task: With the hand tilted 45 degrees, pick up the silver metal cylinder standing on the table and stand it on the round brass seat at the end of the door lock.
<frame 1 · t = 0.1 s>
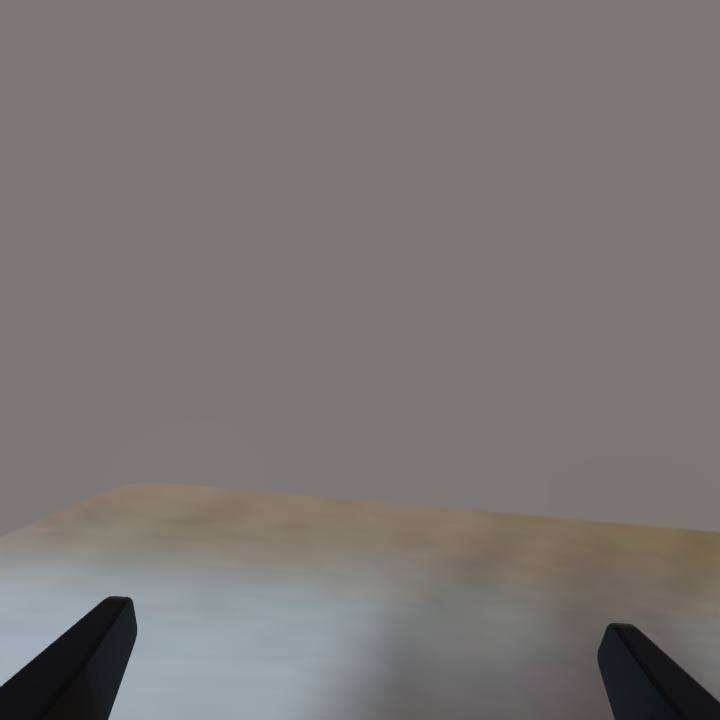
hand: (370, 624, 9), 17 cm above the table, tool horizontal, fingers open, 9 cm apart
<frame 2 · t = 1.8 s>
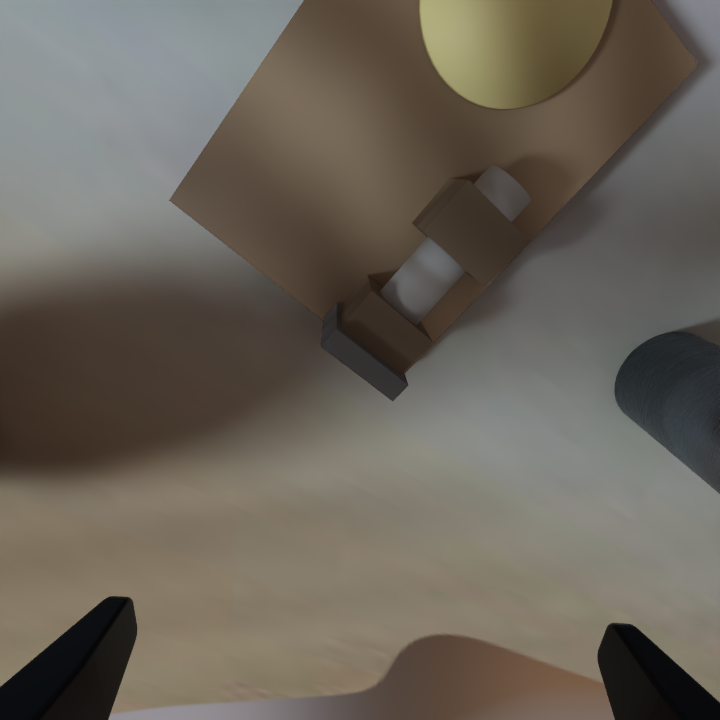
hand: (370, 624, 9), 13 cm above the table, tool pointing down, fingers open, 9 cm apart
door lock: (421, 136, 17), on the table
silver metal cylinder: (664, 379, 21), on the table
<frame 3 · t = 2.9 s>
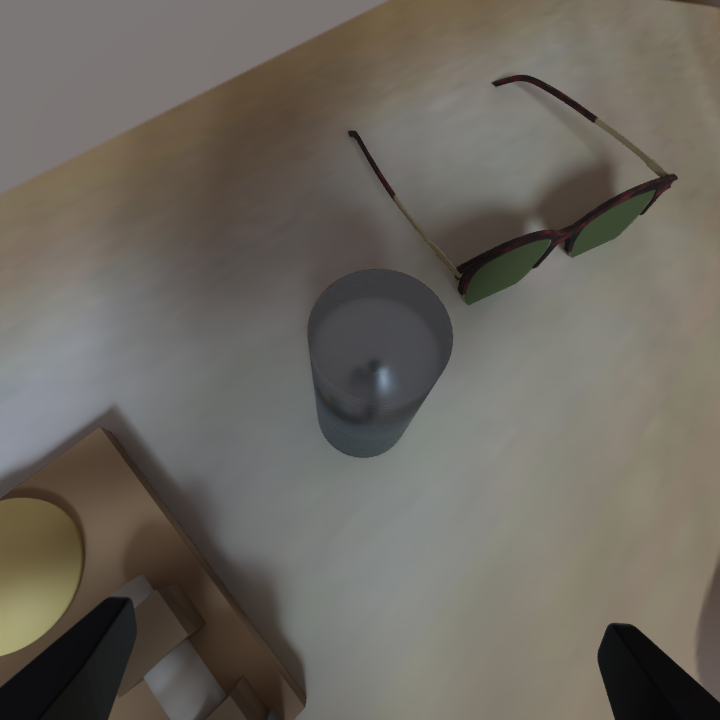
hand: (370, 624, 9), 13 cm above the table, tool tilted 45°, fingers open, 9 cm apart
sunglasses: (476, 188, 31), on the table
door lock: (92, 648, 20), on the table
silver metal cylinder: (362, 412, 24), on the table
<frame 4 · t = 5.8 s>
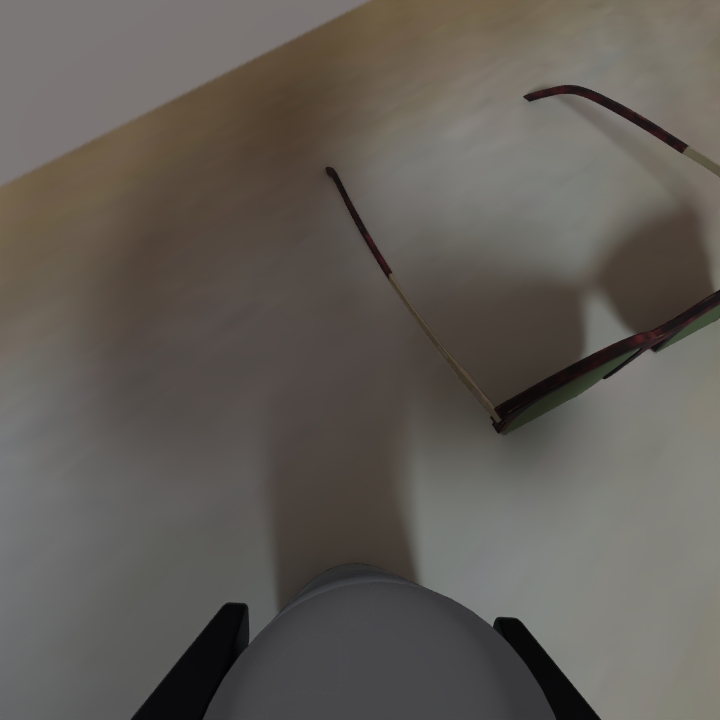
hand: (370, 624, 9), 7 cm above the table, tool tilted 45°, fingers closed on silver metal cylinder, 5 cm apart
sunglasses: (508, 245, 21), on the table
silver metal cylinder: (355, 643, 15), on the table, touching gripper
when the fingers open (9 cm above the table, at t = 9.6 s): silver metal cylinder stays where it is, resting on door lock.
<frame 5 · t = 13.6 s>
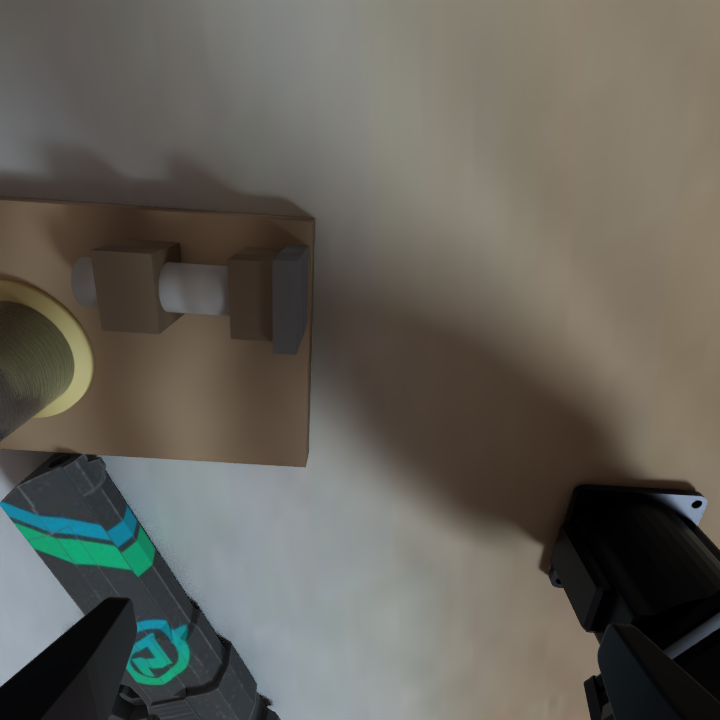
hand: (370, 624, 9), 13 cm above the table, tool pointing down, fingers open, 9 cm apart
handgun: (116, 634, 29), on the table
door lock: (141, 336, 20), on the table
silver metal cylinder: (17, 355, 19), point 2 cm above the table, touching door lock
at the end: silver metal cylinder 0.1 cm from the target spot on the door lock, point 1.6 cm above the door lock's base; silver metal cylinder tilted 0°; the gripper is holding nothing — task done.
